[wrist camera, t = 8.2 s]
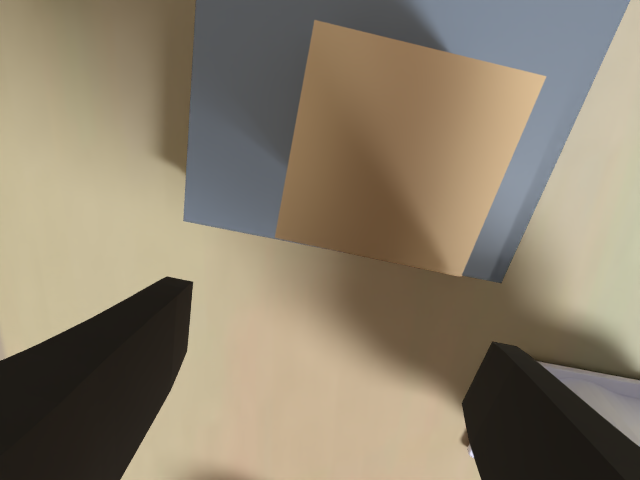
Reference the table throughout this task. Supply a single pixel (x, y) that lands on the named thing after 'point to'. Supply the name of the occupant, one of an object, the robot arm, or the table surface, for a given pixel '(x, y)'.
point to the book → (396, 23)
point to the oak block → (399, 148)
